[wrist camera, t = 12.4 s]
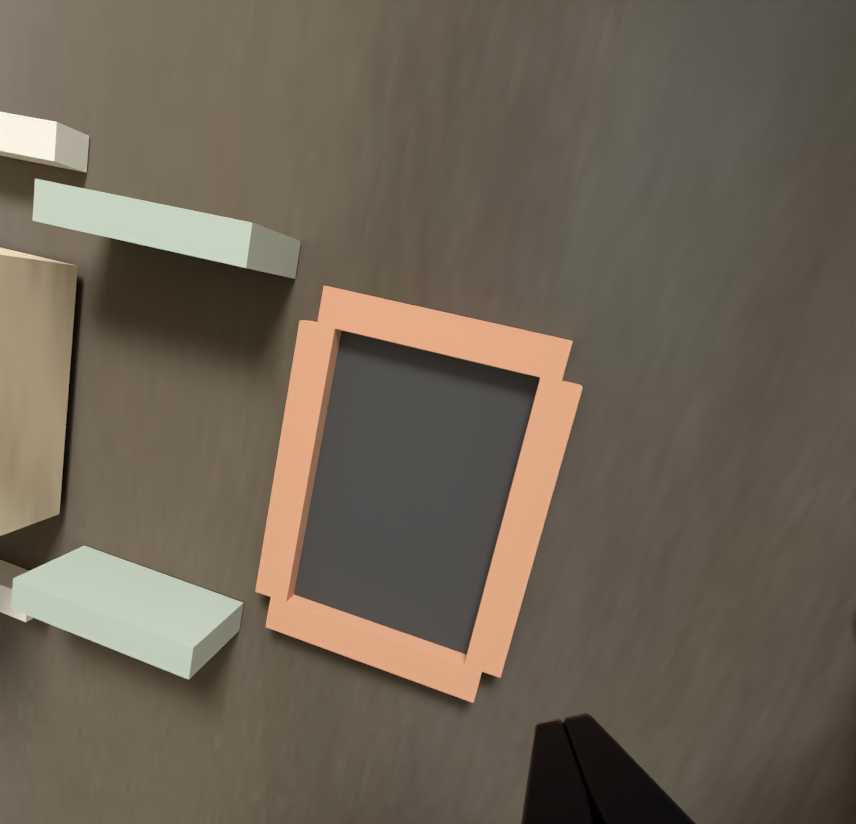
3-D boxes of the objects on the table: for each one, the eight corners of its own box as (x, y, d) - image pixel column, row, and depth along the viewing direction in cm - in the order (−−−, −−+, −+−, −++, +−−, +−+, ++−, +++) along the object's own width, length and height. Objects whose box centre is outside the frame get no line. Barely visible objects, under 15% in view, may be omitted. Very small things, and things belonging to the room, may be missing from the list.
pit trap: (591, 345, 18) (594, 345, 17) (493, 692, 21) (491, 709, 20) (317, 283, 20) (306, 281, 19) (262, 609, 23) (250, 621, 22)
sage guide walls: (301, 241, 20) (252, 222, 17) (239, 630, 24) (188, 679, 20) (113, 202, 22) (34, 178, 18) (82, 572, 25) (11, 608, 22)
